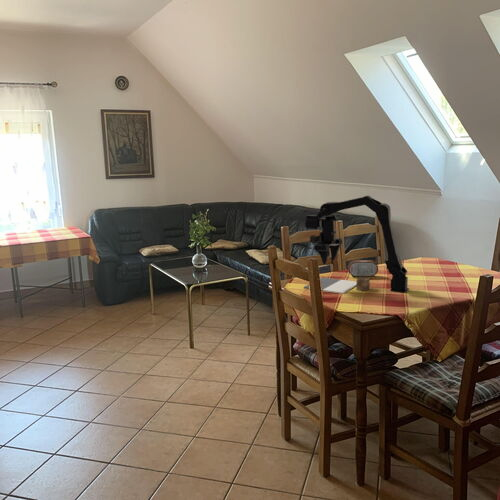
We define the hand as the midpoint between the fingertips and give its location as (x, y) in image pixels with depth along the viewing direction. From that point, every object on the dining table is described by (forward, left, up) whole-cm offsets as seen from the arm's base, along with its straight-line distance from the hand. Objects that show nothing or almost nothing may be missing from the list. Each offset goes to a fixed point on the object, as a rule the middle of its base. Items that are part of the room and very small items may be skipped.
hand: (328, 261), depth 237 cm
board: (-2, 0, -11) cm, 12 cm away
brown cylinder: (-17, -1, -12) cm, 20 cm away
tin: (-8, -23, -12) cm, 27 cm away
